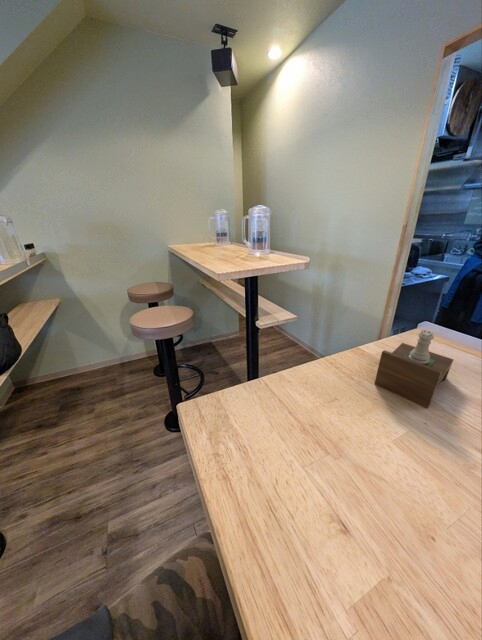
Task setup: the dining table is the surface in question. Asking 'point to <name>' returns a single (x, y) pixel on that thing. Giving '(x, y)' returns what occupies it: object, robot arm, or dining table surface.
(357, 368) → the dining table surface
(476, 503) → the dining table surface
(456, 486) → the dining table surface
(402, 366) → the wooden stand
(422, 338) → the rook chess piece
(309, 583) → the dining table surface
